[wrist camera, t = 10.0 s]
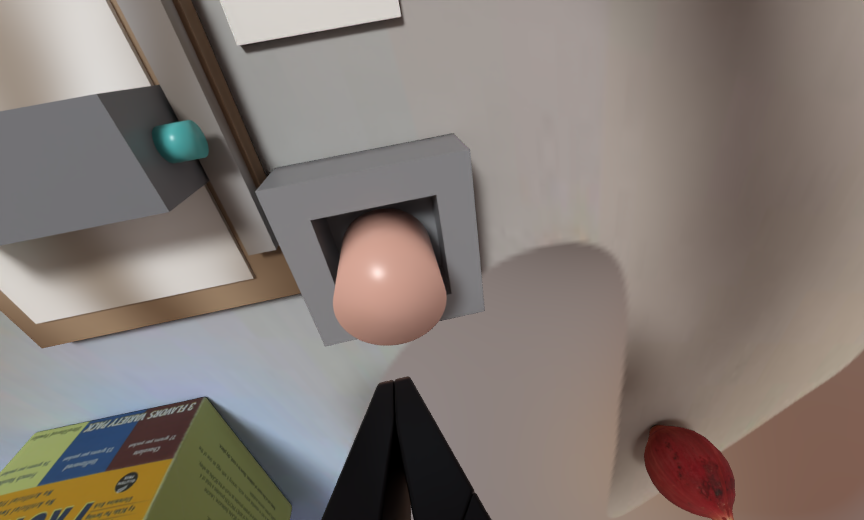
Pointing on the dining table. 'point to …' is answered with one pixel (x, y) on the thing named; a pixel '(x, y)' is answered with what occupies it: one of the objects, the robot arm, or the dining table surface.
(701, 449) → the onion
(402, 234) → the button
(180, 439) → the protein box
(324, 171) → the button housing
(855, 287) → the dining table surface
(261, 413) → the dining table surface
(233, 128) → the clipboard
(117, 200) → the block
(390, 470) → the robot arm
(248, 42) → the card
